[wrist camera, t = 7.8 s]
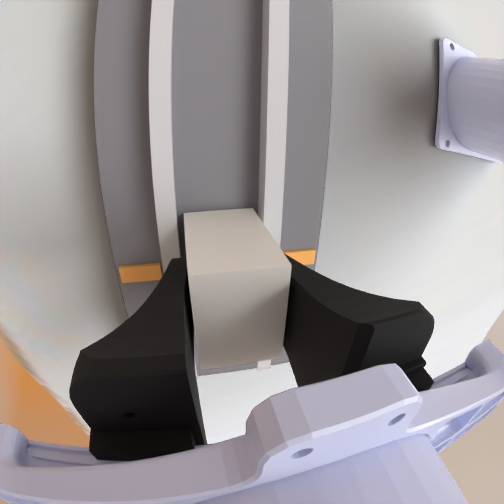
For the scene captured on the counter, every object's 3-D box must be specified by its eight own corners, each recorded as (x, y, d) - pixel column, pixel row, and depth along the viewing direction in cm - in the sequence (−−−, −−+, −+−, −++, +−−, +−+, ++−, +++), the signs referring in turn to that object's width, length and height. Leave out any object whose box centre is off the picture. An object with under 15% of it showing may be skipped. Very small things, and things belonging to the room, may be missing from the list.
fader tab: (252, 207, 13) (291, 264, 9) (251, 284, 15) (281, 357, 11) (183, 212, 12) (187, 276, 8) (190, 291, 14) (200, 369, 10)
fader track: (308, -98, 7) (330, -120, 4) (290, 340, 21) (304, 370, 18) (132, -106, 5) (128, -132, 2) (149, 357, 19) (148, 392, 16)
